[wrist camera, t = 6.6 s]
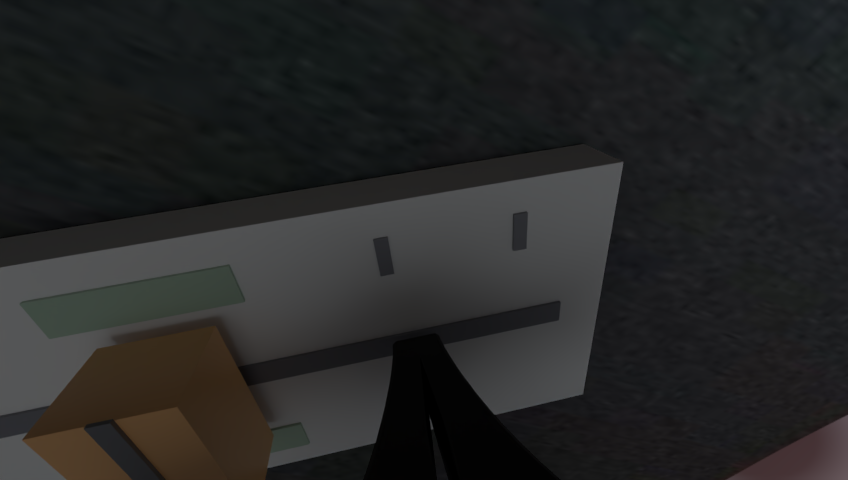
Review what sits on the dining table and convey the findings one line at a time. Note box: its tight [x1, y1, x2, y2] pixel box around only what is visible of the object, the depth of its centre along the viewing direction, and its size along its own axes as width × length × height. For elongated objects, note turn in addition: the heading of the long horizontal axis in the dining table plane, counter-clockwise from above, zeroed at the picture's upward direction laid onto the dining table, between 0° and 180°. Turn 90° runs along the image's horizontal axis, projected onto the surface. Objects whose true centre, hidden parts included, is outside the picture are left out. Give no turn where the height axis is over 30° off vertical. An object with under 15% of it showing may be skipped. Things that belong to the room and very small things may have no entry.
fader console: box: [0, 144, 623, 480], centre depth 12 cm, size 10×22×2 cm, turn 96°
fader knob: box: [22, 326, 274, 480], centre depth 10 cm, size 5×3×3 cm, turn 6°
